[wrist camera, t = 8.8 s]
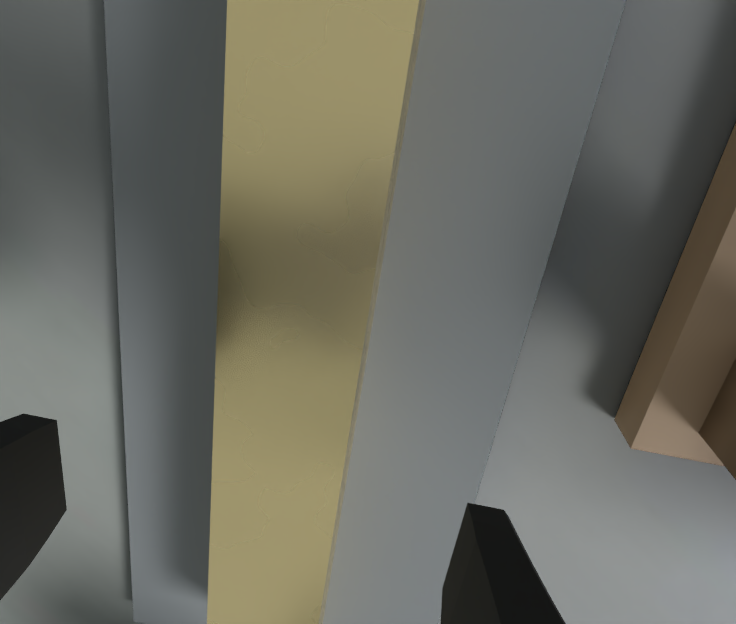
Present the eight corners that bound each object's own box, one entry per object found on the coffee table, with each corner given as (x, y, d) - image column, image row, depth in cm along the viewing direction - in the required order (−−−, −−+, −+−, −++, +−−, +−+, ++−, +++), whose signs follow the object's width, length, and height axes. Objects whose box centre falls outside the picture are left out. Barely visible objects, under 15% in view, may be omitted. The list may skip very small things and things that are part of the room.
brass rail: (437, -71, 9) (440, -133, 7) (321, 628, 17) (302, 724, 14) (286, -92, 9) (232, -163, 7) (238, 611, 17) (204, 702, 14)
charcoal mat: (653, -122, 9) (668, -137, 9) (420, 664, 18) (420, 682, 17) (112, -199, 10) (93, -217, 9) (142, 606, 18) (133, 621, 18)
